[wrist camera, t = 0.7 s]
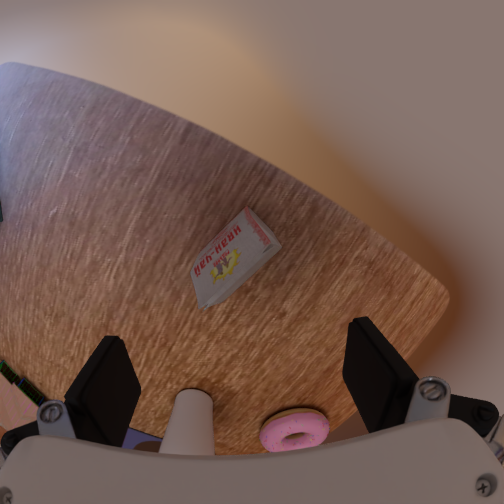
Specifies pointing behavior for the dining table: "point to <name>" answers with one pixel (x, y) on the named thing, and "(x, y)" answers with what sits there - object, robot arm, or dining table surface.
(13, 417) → the house
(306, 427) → the doughnut
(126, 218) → the dining table surface
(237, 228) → the tea bag
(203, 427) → the drinking glass
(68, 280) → the dining table surface
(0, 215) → the waste bin
